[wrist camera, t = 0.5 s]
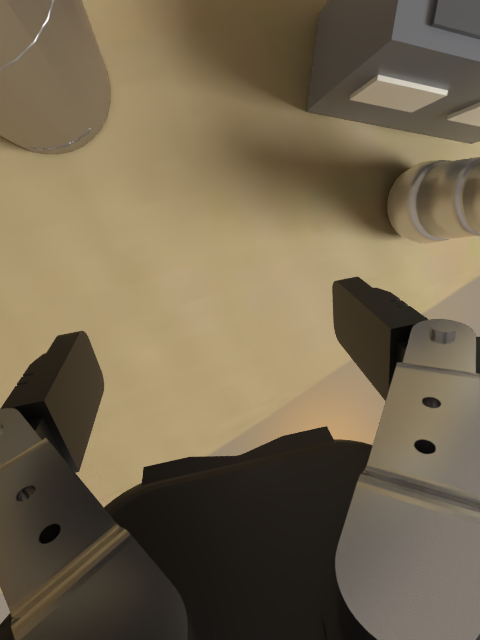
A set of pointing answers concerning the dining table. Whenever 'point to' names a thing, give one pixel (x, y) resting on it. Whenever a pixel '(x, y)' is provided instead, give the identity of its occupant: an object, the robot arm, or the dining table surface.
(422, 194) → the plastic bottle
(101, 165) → the dining table surface
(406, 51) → the box
